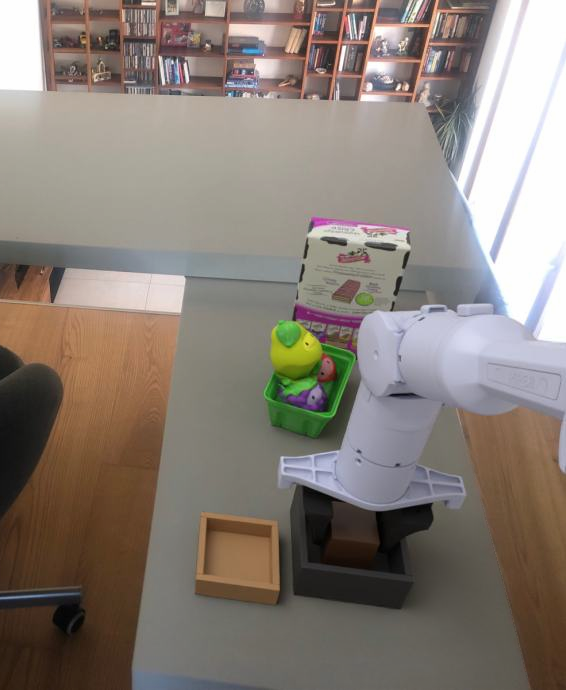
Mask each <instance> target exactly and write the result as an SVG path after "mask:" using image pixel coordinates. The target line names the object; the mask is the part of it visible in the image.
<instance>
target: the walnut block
mask: <svg viewBox="0 0 566 690" xmlns="http://www.w3.org/2000/svg"><path fill="white" fill-rule="evenodd" d="M332 503H333V513H334V518H332V519H331V521H330V522H329V524H328V525H327V527H326V530H325V534H324V538H323V542H322V544H321V545H320V551H321V564H324V565H332V566H339V567H347V568H355V569H362V570H369V569H370V567H371V564H372V562H373V560H374V557H375V555H376V552H377V550H378V547H379V545H380V540H379V534H378V527H377V521H376V514H375V511H372V510H367V509H363V508H360V507H358V506H355V505H353V504H350V503H344V502H336V501H332Z"/></svg>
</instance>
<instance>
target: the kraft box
mask: <svg viewBox="0 0 566 690" xmlns="http://www.w3.org/2000/svg"><path fill="white" fill-rule="evenodd" d="M198 528H199V529H198V542H197V555H196V568H195V580H194V592H193V593H194V594H195V595H199V596H207V597H213V598H214V597H215V598H220V599H221V598H222V599H227V600H236V601H243V602H251V603H257V604H264V605H271V606H277V604H278V599H279V597H280V591H281V585H280V584H281V579H280V573H281V572H280V537H279V535H280V534H279V521H278V520H273V519H272V520H271V519H263V518H255V517H248V516H240V515H232V514H223V513H216V512H208V511H201V512H200V519H199V527H198Z"/></svg>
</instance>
